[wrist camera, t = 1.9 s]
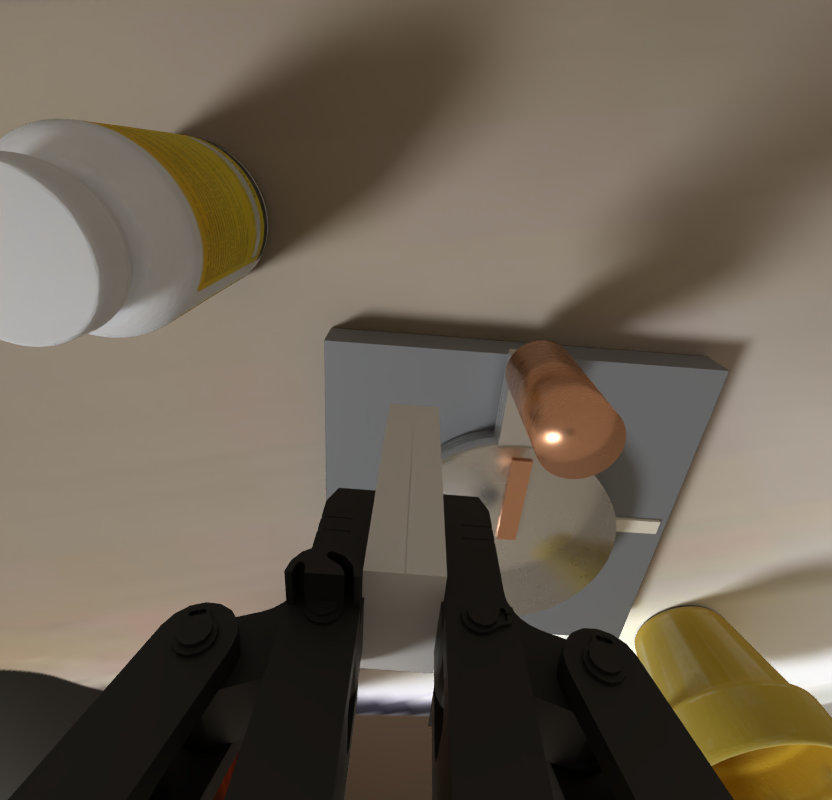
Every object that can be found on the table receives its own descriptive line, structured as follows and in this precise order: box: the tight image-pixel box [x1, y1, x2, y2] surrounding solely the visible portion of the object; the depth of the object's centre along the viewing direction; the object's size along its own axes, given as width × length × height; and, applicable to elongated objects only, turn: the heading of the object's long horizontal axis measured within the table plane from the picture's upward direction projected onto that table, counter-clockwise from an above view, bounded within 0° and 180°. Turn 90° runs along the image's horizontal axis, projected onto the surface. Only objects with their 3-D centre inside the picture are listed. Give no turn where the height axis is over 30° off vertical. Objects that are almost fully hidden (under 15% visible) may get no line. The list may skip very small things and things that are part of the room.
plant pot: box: [635, 606, 832, 800], centre depth 30 cm, size 10×10×10 cm
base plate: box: [324, 328, 729, 638], centre depth 28 cm, size 20×20×2 cm
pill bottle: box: [0, 119, 268, 347], centre depth 16 cm, size 6×6×12 cm
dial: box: [441, 340, 626, 616], centre depth 22 cm, size 18×12×8 cm
